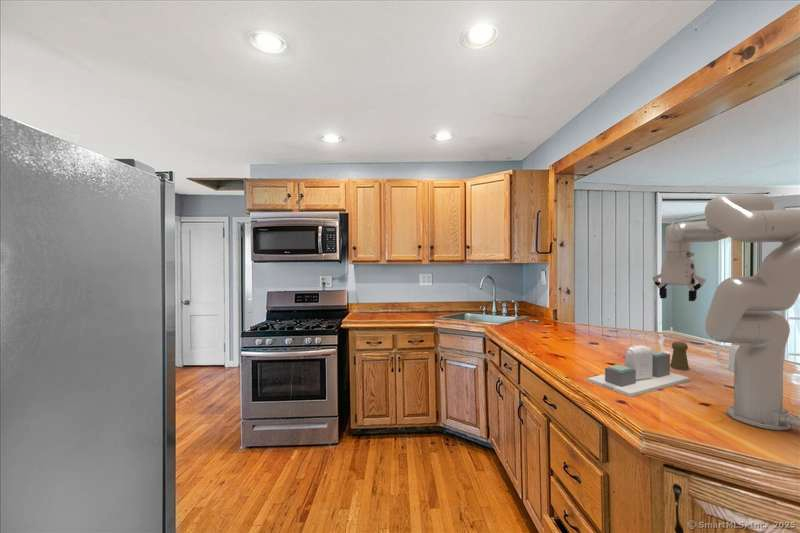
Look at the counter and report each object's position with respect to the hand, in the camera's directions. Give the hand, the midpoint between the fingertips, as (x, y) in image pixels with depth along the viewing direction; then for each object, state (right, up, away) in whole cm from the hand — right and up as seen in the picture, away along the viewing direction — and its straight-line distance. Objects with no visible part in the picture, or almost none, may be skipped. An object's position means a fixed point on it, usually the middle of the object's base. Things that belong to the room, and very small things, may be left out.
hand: (677, 299), depth 130 cm
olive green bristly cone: (+9, -30, +10) cm, 33 cm away
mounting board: (-18, -31, -4) cm, 36 cm away
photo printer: (-18, -30, -4) cm, 35 cm away
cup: (+29, -30, +5) cm, 42 cm away
